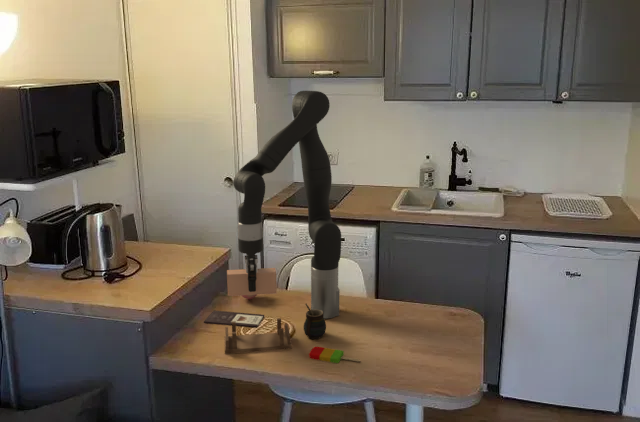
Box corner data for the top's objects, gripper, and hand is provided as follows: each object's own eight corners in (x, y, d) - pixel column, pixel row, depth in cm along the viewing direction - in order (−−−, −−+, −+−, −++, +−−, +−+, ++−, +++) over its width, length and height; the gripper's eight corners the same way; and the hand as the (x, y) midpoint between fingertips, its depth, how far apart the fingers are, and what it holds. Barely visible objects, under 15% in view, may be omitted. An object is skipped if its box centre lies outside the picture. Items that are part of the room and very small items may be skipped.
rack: (288, 335, 188) (288, 317, 186) (291, 348, 179) (291, 330, 178) (224, 339, 185) (223, 321, 183) (224, 353, 176) (224, 334, 175)
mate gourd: (318, 343, 183) (318, 313, 180) (298, 337, 187) (297, 308, 184) (330, 334, 189) (330, 305, 186) (310, 328, 193) (310, 300, 190)
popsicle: (314, 351, 179) (314, 345, 179) (362, 359, 175) (362, 353, 174) (307, 359, 174) (307, 353, 174) (357, 368, 170) (357, 362, 169)
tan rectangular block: (275, 288, 189) (275, 267, 187) (276, 293, 185) (276, 272, 184) (227, 291, 187) (227, 270, 185) (227, 296, 183) (227, 274, 181)
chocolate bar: (213, 310, 205) (264, 314, 202) (213, 312, 205) (264, 317, 202) (203, 321, 197) (256, 326, 193) (204, 324, 197) (256, 328, 193)
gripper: (264, 242, 175) (265, 296, 180) (261, 228, 189) (262, 279, 193) (238, 243, 174) (240, 298, 178) (237, 229, 188) (239, 280, 192)
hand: (251, 288), depth 186 cm, fingers closed on tan rectangular block, 4 cm apart
